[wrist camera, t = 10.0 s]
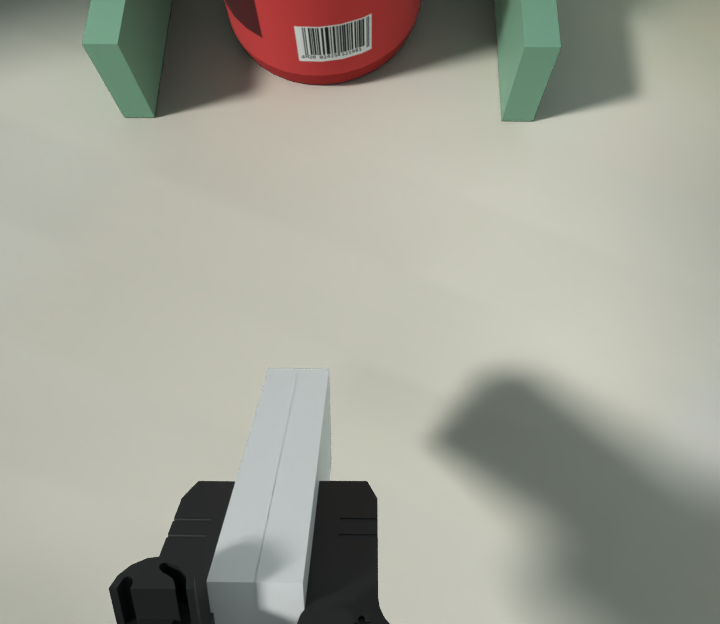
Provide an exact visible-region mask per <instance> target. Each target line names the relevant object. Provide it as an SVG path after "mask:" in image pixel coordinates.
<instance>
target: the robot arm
mask: <svg viewBox="0 0 720 624" xmlns="http://www.w3.org/2000/svg"><path fill="white" fill-rule="evenodd" d="M331 459H332V458H331V420H330V382H329V369H319V368H268V371H267V374H266V378H265V381H264V385H263V388H262V392H261V395H260V398H259V402H258V405H257V409H256V412H255V416H254V419H253V423H252V426H251V430H250V433H249V436H248V440H247V443H246V447H245V450H244V454H243V457H242V461H241V464H240V467H239V471H238V474H237V478H236V481H235V482H232V481H198V482H197V483H196V484H195V485H194V486H193V487H192V488H191V489H190V490H189V491H188V492H187V493H186V494H185V495H184V497H183V498H182V499H181V502H180V505H179V507H178V510H177V512H176V515H175V517H174V518H175V519H174V521H173V523H172V525H171V528H170V530H169V533H168V537H167V538H166V541H165V543H164V546H163V548H162V551H161V553H160V556H159V557H153V558H147V559H144V560H142V561H140V562H137V563H135V564H133V565H131V566H129V567H128V568H127V569H125V570H124V571H123V572H122V573H120V574H119V575H118V576H117V577H116V579H115V580H114V582H113V583H112V584H111V586H110V587H109V591H110V596H111V600H112V604H113V609H114V613H115V617H116V622H117V624H389V622H388V621H387V620H386V619H385V618H384V616H383V614H382V612H381V609H380V607H379V601H378V538H377V497H376V496H375V494H374V492H373V490H372V489H371V487H370V485H369V484H368V482H367V481H329V480H330V469H331Z"/></svg>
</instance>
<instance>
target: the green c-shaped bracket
mask: <svg viewBox="0 0 720 624" xmlns="http://www.w3.org/2000/svg"><path fill="white" fill-rule="evenodd" d="M494 3H495V20H496V36H497V53H498V69H499V86H500V103H501V119H502V121H533V119H534V116H535V114H536V111H537V108H538V106H539V103H540V101H541V98H542V95H543V93H544V90H545V88H546V85H547V83H548V80H549V77H550V75H551V72H552V70H553V67H554V64H555V62H556V59H557V57H558V54H559V51H560V49H561V42H560V32H559V22H558V12H557V2H556V0H494ZM171 4H172V0H91V2H90V7H89V12H88V17H87V22H86V27H85V31H84V36H83V41H82V45H83V46H84V48H85V50H86V52H87V53H88V55H89V57H90V59H91V60H92V62H93V64H94V66H95V67H96V69H97V71H98V73H99V74H100V76H101V78H102V79H103V81H104V83H105V85H106V86H107V88H108V90H109V92H110V93H111V95H112V97H113V99H114V100H115V102H116V104H117V106H118V107H119V109H120V111H121V113H122V114H123V116H124V117H155V110H156V104H157V97H158V90H159V84H160V77H161V70H162V64H163V57H164V51H165V44H166V37H167V31H168V24H169V17H170V11H171Z"/></svg>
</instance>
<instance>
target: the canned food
mask: <svg viewBox="0 0 720 624" xmlns="http://www.w3.org/2000/svg"><path fill="white" fill-rule="evenodd" d="M224 1H225V5H226V9H227V12H228V16H229V19H230V23H231V26H232V29H233V32H234V33H235V35H236V36H237V38H238V39H239V41H240V43H241V44H242V46H243V47H244V48H245V50H246V51H247V52H248V53H249V55H250V56H251V57H252V58H253V59H254V60H255V61H256V62H257V63H258V64H259V65H260V66H262V67H263V68H265V69H266V70H268V71H269V72H271V73H273V74H274V75H277V76H279V77H282V78H285V79H287V80H290V81H295V82H300V83H305V84H332V83H340V82H345V81H348V80H352V79H355V78H359V77H361V76H363V75H365V74H368V73H370V72H372V71H374V70H376V69H377V68H379V67H380V66H381V65H383V64H384V63H386V62H387V61H388V60H390V59H391V58H392V57H393V56H394V55H395V54H396V52H397V51H398V50H399V49H400V48H401V47H402V45H403V44H404V42H405V40H406V39H407V37H408V35H409V34H410V32H411V30H412V28H413V26H414V24H415V21H416V18H417V16H418V13H419V10H420V5H421V0H224Z"/></svg>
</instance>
